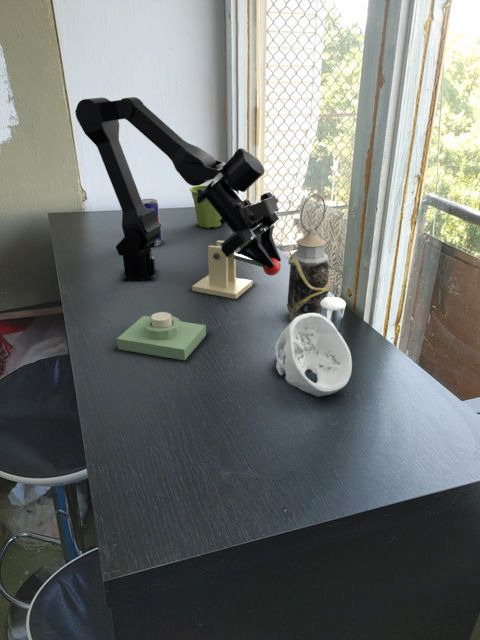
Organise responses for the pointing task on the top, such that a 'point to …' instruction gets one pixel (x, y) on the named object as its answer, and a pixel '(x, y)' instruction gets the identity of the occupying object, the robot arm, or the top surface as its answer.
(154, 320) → the button
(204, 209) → the plant pot
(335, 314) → the milkshake
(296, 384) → the skull bowl
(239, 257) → the lever
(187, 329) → the block
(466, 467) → the top surface
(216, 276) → the bracket
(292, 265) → the lantern
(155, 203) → the energy drink
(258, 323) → the top surface
